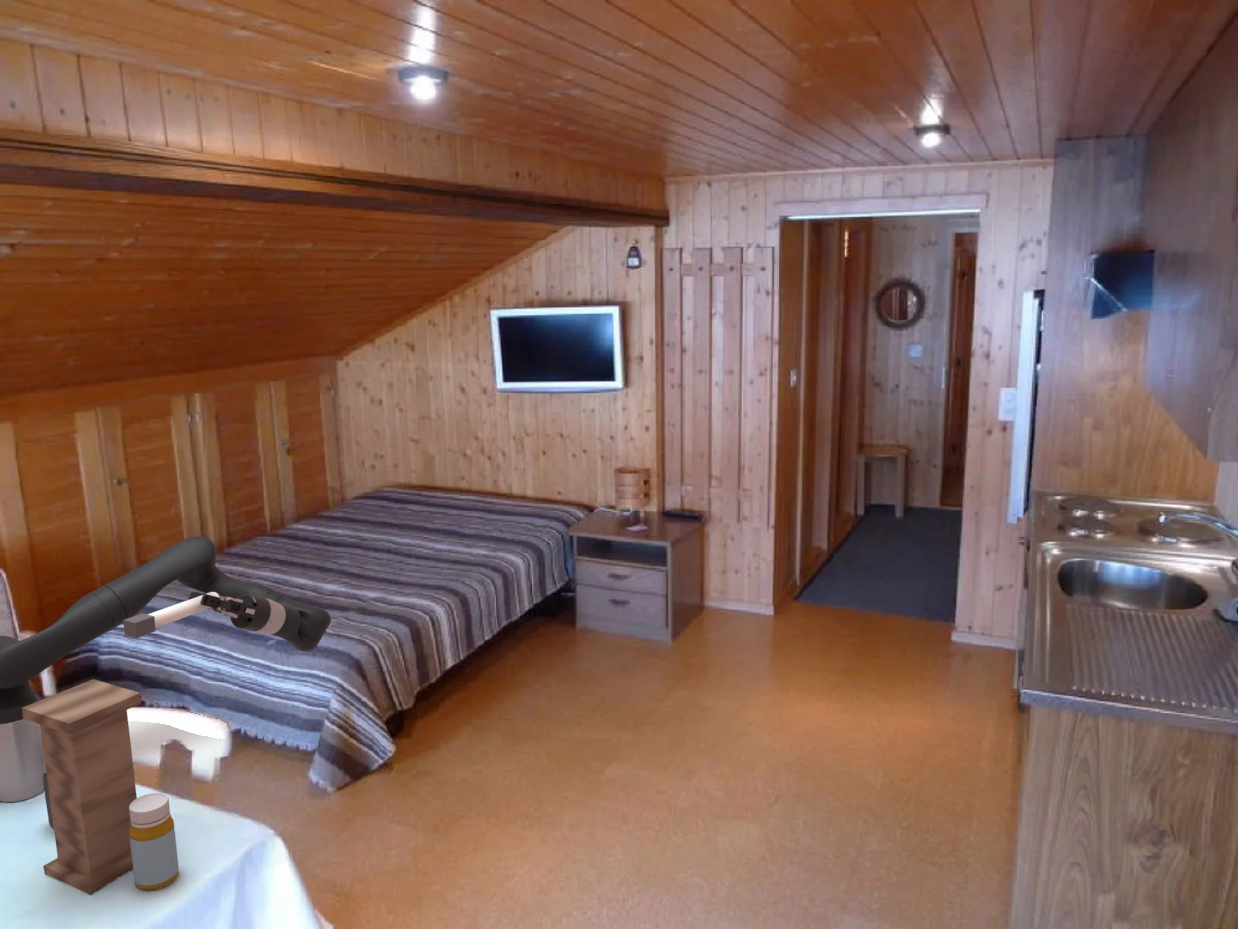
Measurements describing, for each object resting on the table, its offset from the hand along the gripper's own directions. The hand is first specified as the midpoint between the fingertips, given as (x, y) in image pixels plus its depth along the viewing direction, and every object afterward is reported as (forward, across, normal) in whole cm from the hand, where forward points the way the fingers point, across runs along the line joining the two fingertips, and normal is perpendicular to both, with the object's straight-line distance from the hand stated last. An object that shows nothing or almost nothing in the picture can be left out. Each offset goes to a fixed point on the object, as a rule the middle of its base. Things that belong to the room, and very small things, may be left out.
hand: (197, 597), depth 185 cm
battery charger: (0, +14, -48) cm, 50 cm away
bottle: (+2, -17, -49) cm, 52 cm away
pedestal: (+4, -4, -50) cm, 50 cm away
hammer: (+3, 0, -5) cm, 6 cm away
